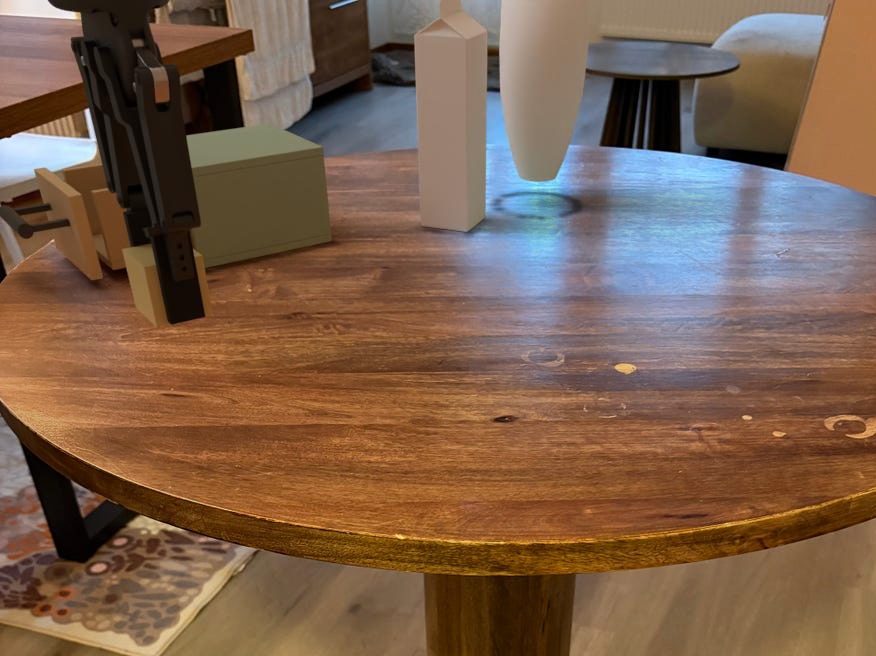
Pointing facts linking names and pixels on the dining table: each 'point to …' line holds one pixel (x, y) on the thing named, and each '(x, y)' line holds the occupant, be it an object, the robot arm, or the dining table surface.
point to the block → (156, 283)
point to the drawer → (78, 218)
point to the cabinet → (257, 193)
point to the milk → (451, 119)
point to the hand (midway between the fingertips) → (173, 307)
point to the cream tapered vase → (542, 80)
